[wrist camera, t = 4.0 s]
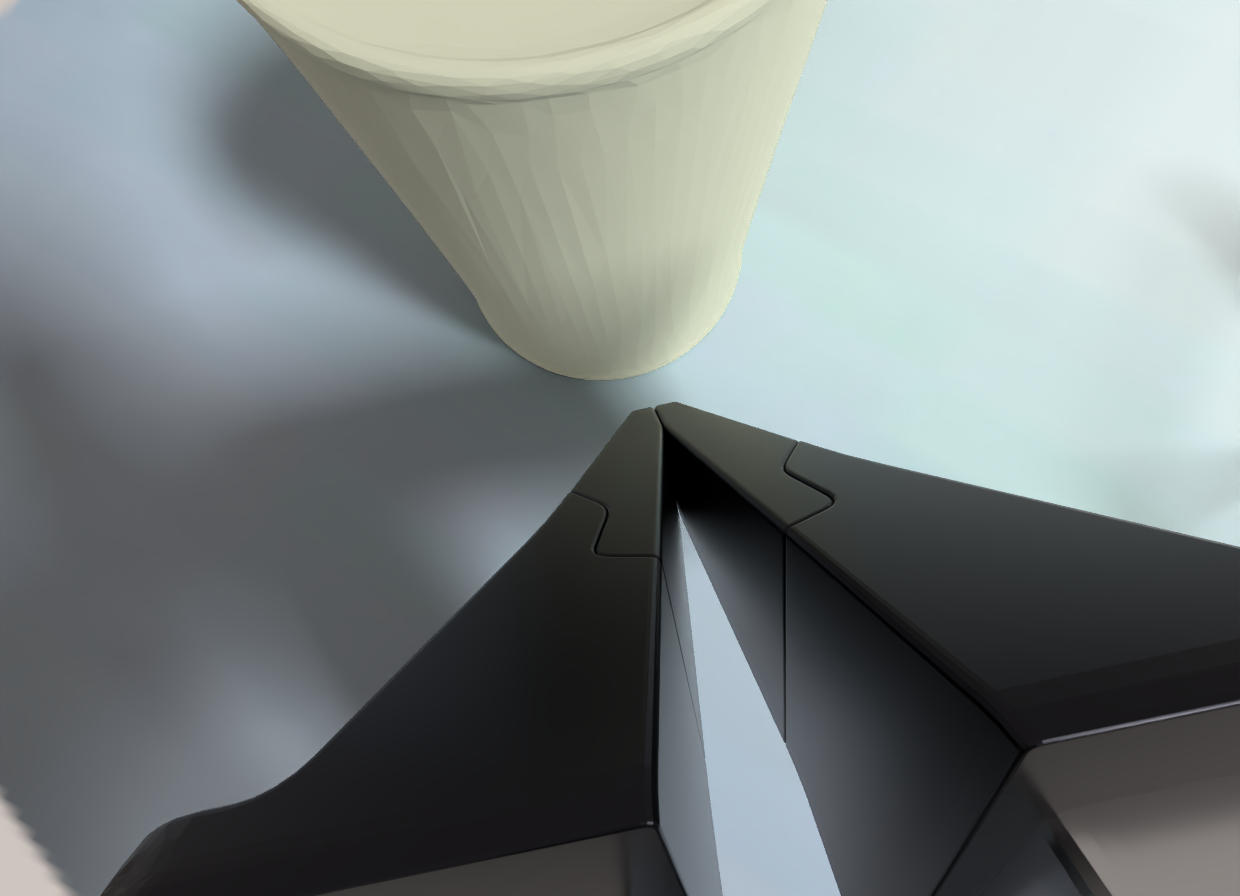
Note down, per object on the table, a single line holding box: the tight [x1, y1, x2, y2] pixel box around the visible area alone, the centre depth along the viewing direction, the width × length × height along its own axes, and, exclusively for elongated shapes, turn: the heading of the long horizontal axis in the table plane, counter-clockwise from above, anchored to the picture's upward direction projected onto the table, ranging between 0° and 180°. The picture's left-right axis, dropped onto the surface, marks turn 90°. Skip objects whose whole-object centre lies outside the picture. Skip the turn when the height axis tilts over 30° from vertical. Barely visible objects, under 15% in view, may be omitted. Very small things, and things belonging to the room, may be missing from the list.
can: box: [237, 0, 828, 380], centre depth 12 cm, size 9×9×12 cm
